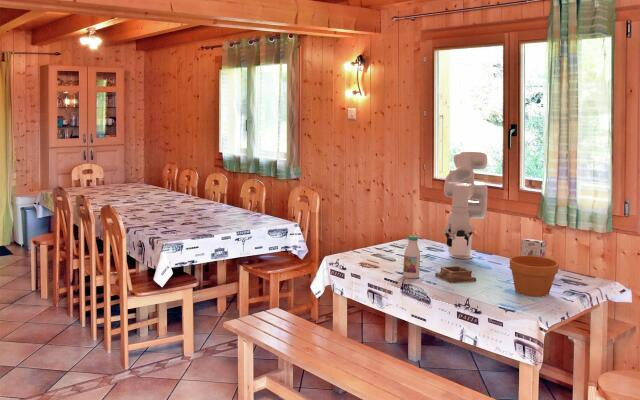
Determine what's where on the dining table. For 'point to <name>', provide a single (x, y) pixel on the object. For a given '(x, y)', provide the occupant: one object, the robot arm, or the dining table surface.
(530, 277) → the flower pot
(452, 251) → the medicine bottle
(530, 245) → the candy bar box
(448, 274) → the bottle stand
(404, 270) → the milk bottle
